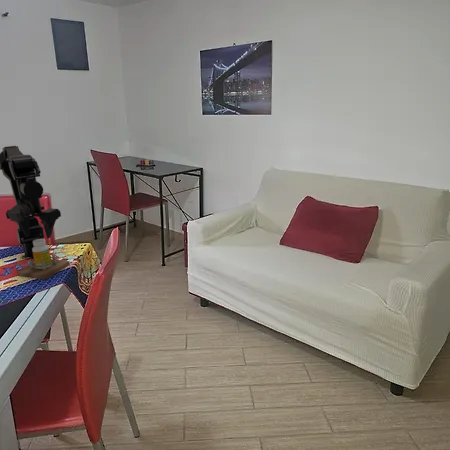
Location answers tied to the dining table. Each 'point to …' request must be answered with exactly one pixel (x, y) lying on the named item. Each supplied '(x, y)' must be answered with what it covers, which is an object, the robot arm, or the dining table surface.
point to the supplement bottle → (41, 253)
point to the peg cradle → (43, 269)
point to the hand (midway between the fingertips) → (38, 237)
